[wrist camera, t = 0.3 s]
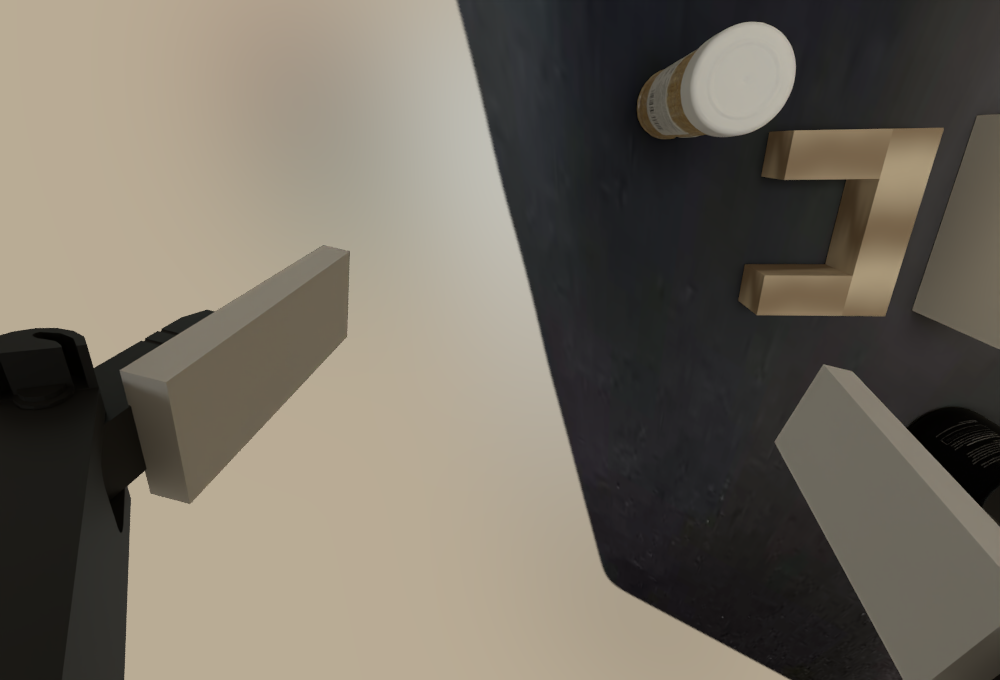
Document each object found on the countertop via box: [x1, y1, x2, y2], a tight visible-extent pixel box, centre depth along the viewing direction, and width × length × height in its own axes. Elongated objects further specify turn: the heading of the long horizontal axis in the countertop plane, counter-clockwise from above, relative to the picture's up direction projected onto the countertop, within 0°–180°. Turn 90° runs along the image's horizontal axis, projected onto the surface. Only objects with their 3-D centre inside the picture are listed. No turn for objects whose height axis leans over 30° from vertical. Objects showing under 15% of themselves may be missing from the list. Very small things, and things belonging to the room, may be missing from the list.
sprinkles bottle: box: [637, 22, 796, 139], centre depth 27 cm, size 5×5×14 cm
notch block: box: [738, 128, 944, 316], centre depth 34 cm, size 12×9×4 cm
